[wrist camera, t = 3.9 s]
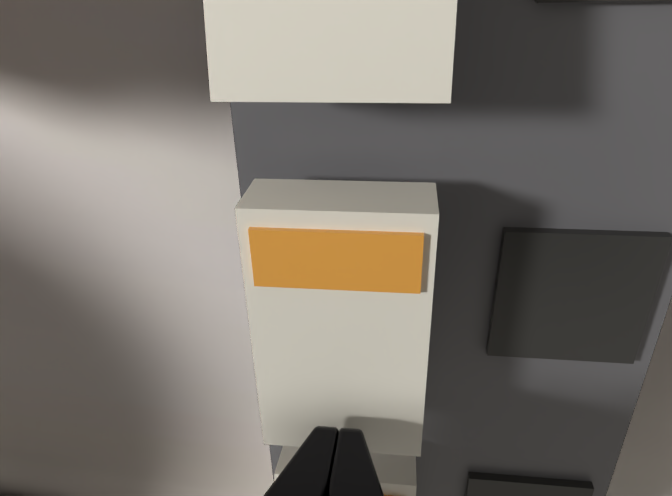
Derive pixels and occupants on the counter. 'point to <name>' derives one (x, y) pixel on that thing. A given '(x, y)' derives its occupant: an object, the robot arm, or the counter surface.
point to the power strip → (520, 231)
